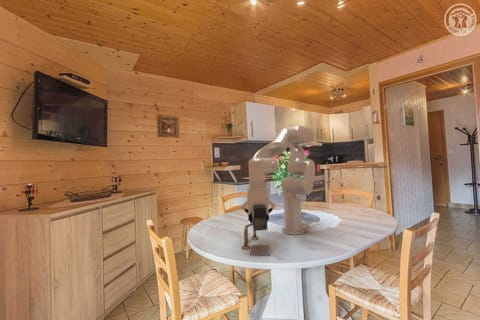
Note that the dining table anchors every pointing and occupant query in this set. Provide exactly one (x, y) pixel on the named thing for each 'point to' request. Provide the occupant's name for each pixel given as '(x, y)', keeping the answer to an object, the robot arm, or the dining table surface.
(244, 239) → the bent rod
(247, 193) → the robot arm
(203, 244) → the dining table surface
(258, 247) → the rubber pad
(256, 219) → the small box
